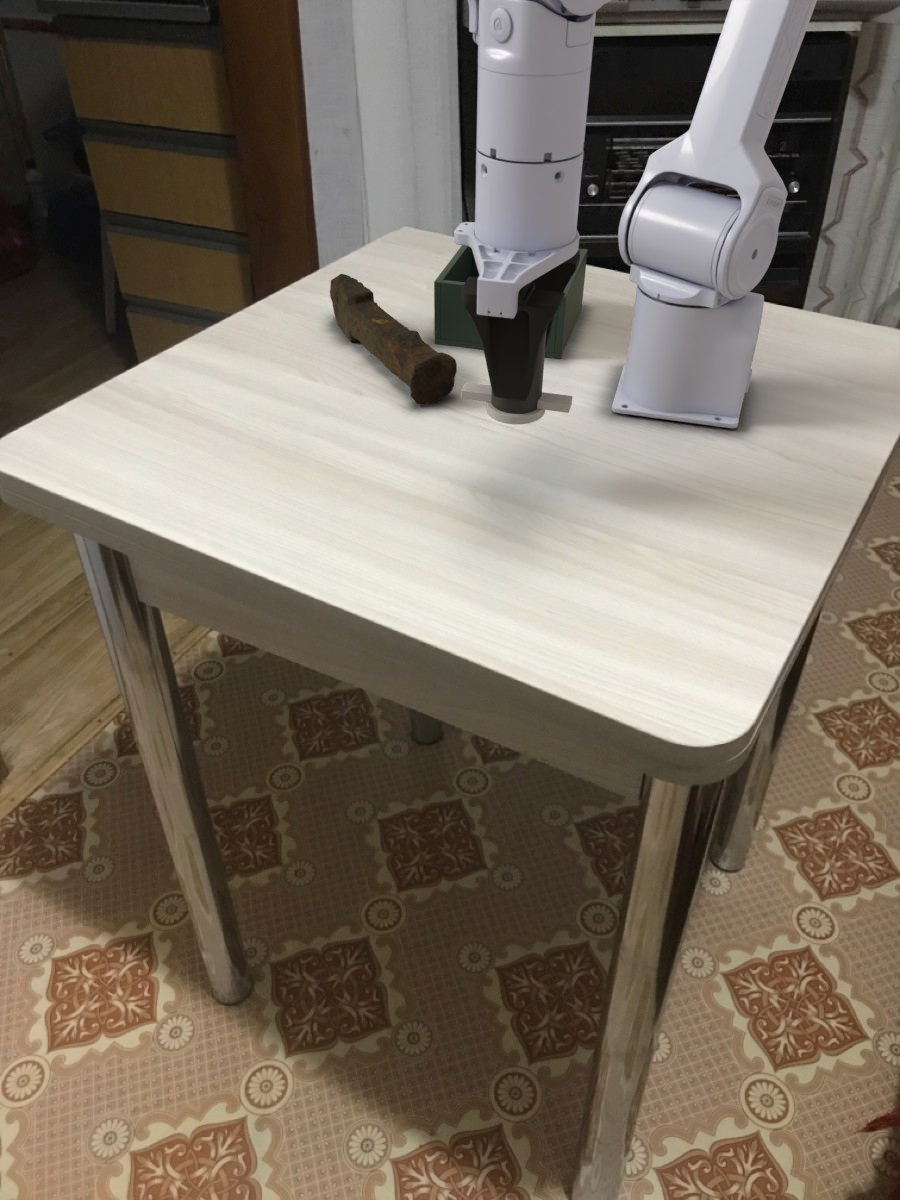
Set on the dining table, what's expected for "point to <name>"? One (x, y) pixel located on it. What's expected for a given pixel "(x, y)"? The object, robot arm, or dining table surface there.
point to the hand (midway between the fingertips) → (517, 382)
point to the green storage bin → (457, 323)
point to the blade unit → (518, 409)
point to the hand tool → (391, 341)
